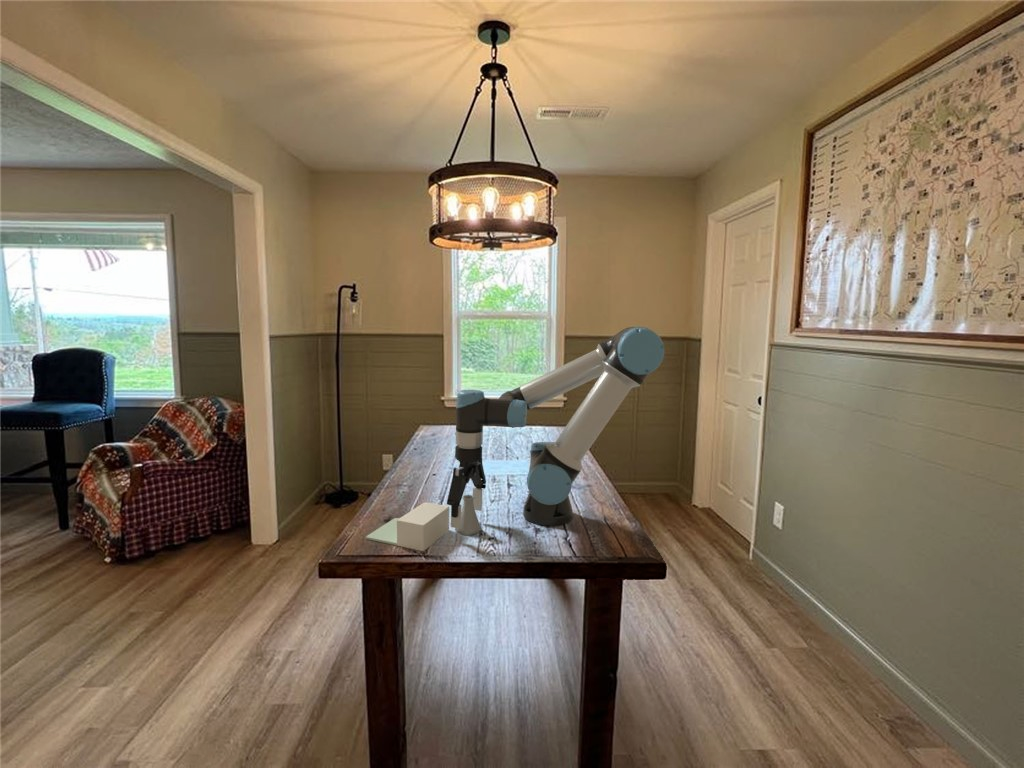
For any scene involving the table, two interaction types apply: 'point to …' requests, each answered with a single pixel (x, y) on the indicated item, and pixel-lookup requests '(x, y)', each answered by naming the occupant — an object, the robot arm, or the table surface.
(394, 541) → the mat
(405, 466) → the table surface
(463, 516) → the flask
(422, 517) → the block
